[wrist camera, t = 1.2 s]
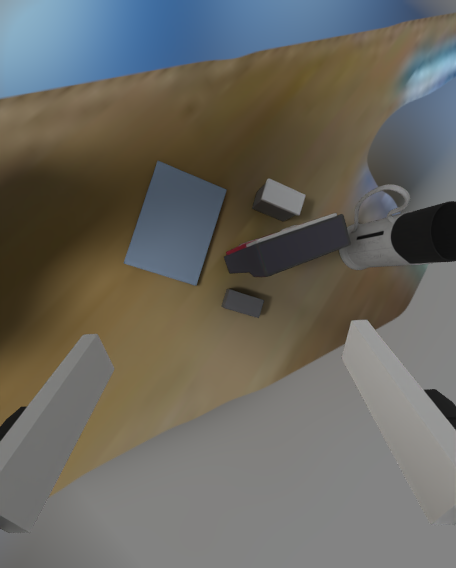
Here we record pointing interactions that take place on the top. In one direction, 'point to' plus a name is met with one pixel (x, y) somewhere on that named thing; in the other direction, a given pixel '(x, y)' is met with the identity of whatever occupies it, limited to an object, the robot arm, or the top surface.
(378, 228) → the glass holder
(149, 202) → the rubber mat
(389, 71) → the top surface
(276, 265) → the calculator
